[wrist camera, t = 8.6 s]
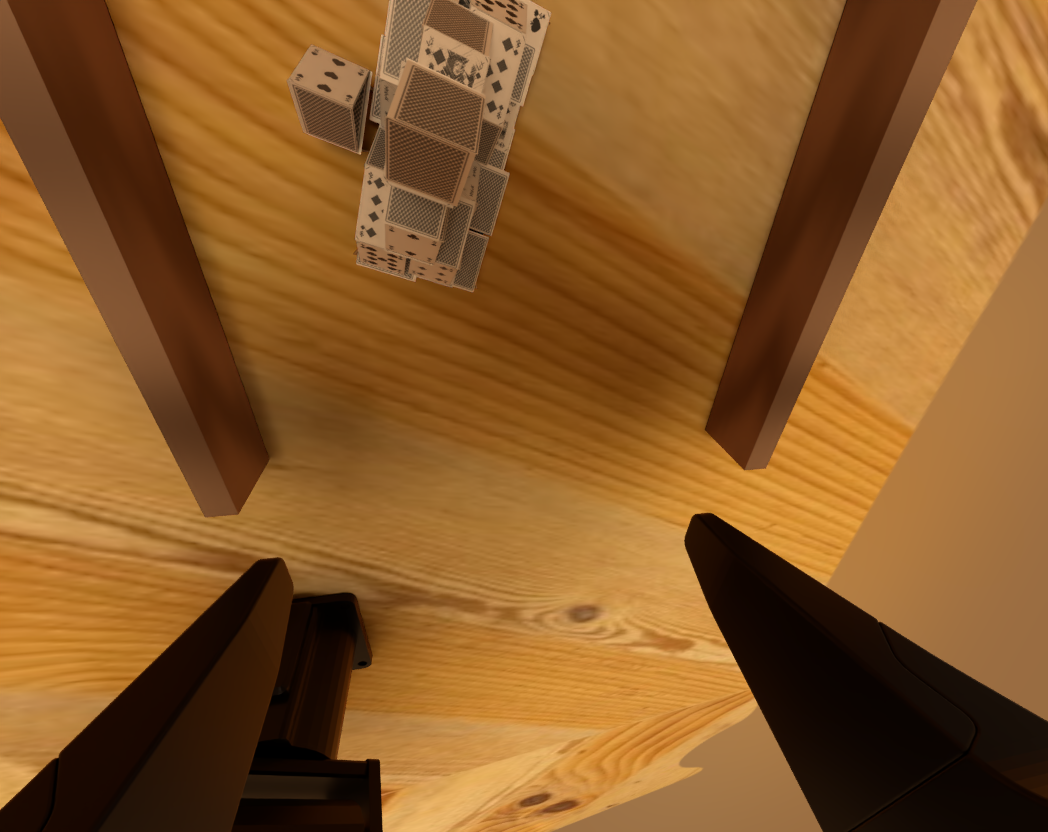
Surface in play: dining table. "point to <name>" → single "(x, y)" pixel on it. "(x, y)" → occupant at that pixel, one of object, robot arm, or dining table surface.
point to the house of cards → (429, 128)
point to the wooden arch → (187, 308)
